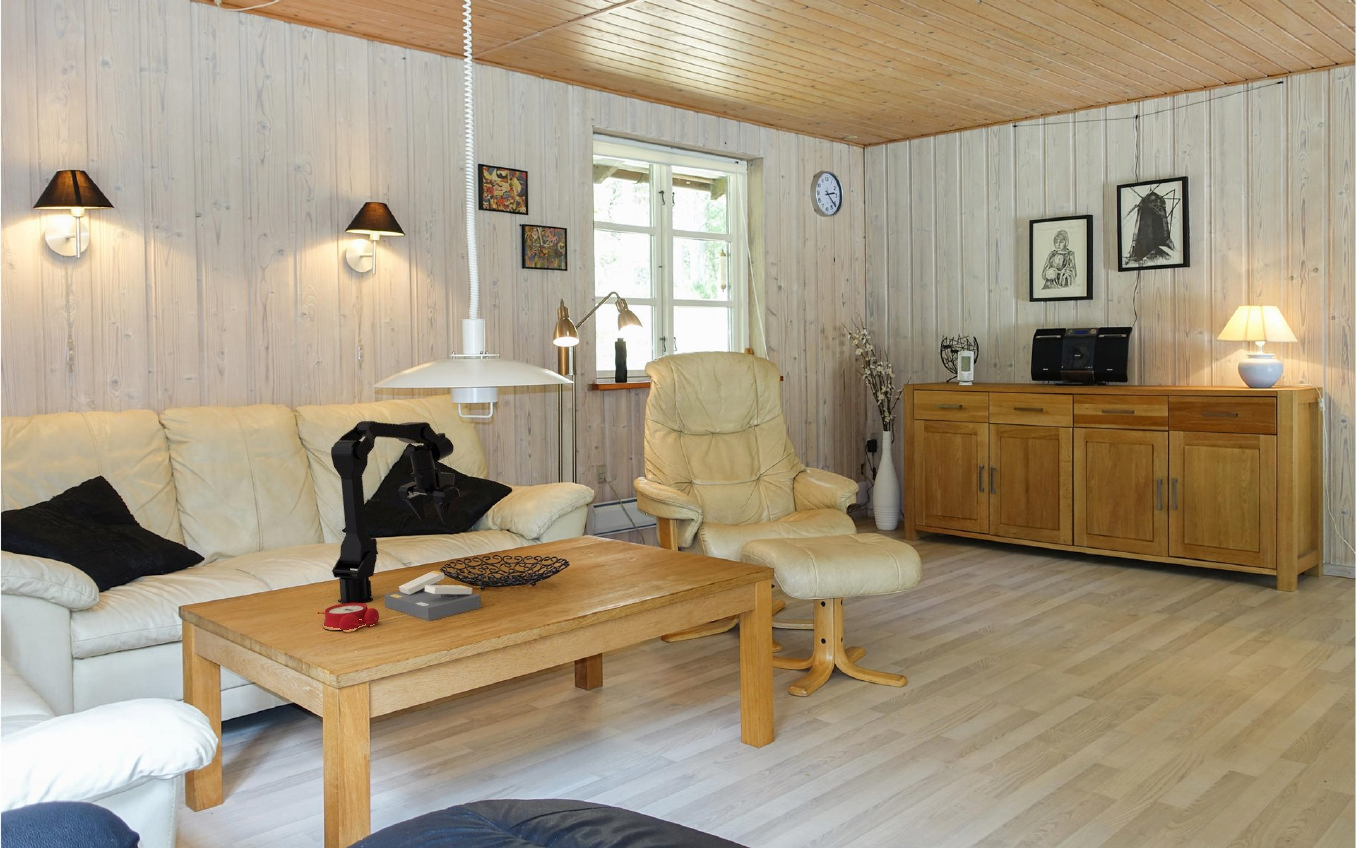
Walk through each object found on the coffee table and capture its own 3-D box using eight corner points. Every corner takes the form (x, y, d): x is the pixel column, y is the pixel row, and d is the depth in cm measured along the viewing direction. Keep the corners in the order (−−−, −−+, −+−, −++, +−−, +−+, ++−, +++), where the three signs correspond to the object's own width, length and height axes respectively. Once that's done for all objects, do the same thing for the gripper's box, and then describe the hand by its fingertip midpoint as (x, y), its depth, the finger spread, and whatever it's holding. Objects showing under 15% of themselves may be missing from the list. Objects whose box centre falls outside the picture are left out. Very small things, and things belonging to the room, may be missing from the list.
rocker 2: (434, 594, 233) (435, 587, 233) (424, 591, 236) (425, 584, 236) (471, 594, 240) (472, 587, 240) (461, 591, 243) (462, 585, 243)
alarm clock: (350, 601, 238) (386, 595, 228) (355, 627, 237) (392, 622, 228) (309, 611, 230) (345, 605, 220) (315, 638, 229) (351, 634, 220)
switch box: (428, 621, 230) (427, 605, 230) (385, 607, 245) (384, 592, 244) (481, 607, 240) (480, 592, 240) (436, 595, 254) (435, 580, 254)
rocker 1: (409, 594, 242) (407, 589, 242) (400, 592, 245) (398, 586, 245) (444, 578, 249) (443, 572, 248) (435, 575, 252) (433, 570, 251)
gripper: (469, 461, 274) (479, 515, 278) (424, 456, 286) (434, 508, 289) (438, 473, 266) (448, 529, 270) (392, 468, 277) (403, 522, 281)
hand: (434, 521), depth 278 cm, fingers open, 9 cm apart
